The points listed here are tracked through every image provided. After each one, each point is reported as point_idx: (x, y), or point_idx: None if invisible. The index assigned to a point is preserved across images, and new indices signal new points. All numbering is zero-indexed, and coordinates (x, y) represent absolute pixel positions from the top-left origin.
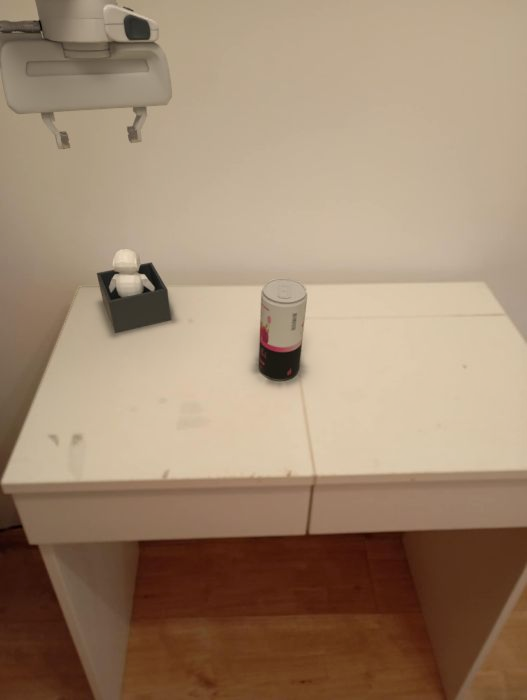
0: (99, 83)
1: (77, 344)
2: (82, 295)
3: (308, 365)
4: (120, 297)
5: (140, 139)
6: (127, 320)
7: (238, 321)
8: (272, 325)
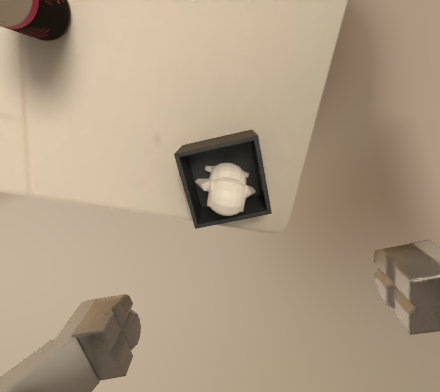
0: None
1: (297, 115)
2: (288, 216)
3: None
4: None
5: (83, 303)
6: (235, 135)
7: (95, 126)
8: None
